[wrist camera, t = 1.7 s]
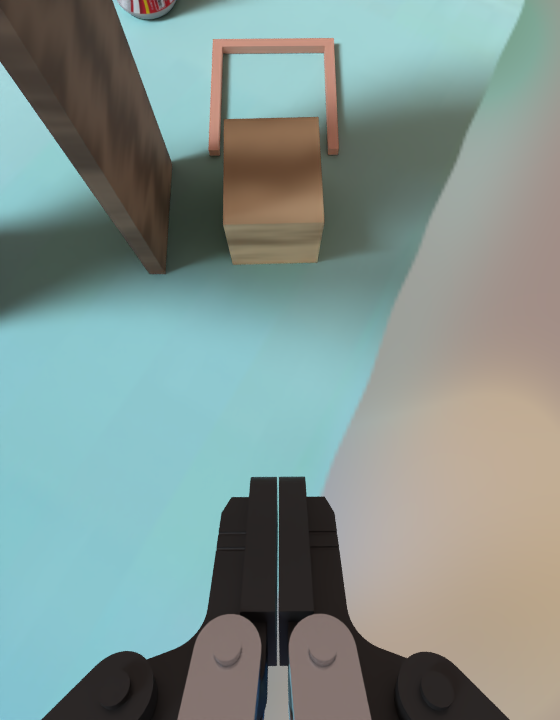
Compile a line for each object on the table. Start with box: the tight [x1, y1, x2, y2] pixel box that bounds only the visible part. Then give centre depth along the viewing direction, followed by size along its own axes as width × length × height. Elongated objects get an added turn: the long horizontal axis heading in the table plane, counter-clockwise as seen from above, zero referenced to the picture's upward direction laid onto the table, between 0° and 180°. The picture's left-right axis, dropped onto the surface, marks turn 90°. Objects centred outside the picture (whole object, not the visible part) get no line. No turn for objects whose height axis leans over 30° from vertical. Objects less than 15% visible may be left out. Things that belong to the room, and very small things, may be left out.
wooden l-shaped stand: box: [0, 0, 172, 274], centre depth 26 cm, size 12×18×31 cm
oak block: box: [223, 117, 324, 265], centre depth 38 cm, size 10×8×7 cm
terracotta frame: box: [209, 38, 339, 156], centre depth 44 cm, size 14×13×1 cm
